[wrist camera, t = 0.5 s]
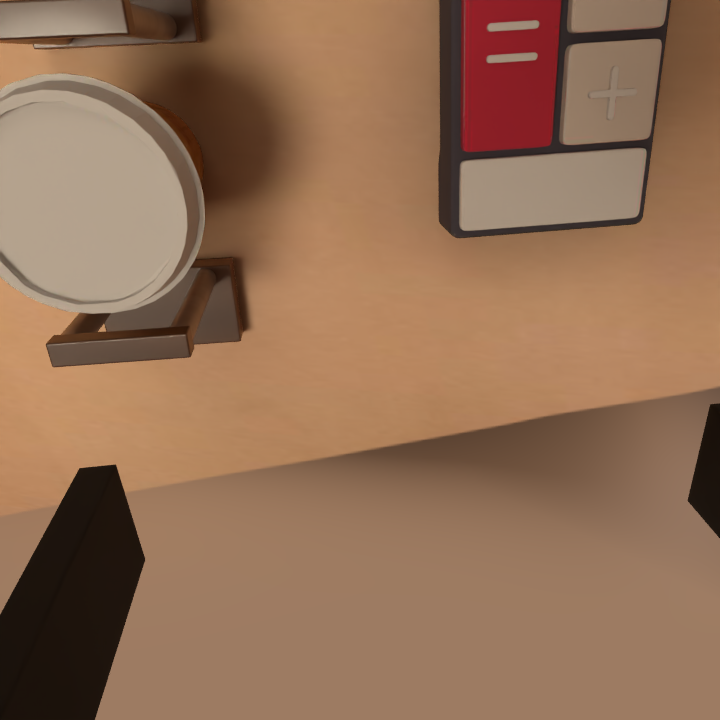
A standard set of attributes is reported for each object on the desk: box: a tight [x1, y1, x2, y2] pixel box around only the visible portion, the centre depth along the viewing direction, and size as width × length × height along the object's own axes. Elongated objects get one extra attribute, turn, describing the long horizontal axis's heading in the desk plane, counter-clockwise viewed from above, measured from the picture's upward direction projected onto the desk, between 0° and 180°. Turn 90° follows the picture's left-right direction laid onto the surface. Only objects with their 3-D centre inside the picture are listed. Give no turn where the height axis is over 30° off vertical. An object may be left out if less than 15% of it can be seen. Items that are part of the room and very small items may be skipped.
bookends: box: [0, 0, 243, 367], centre depth 29 cm, size 22×8×11 cm, turn 2°
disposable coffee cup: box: [0, 73, 205, 314], centre depth 29 cm, size 10×10×12 cm
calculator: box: [439, 0, 671, 238], centre depth 32 cm, size 11×4×15 cm
